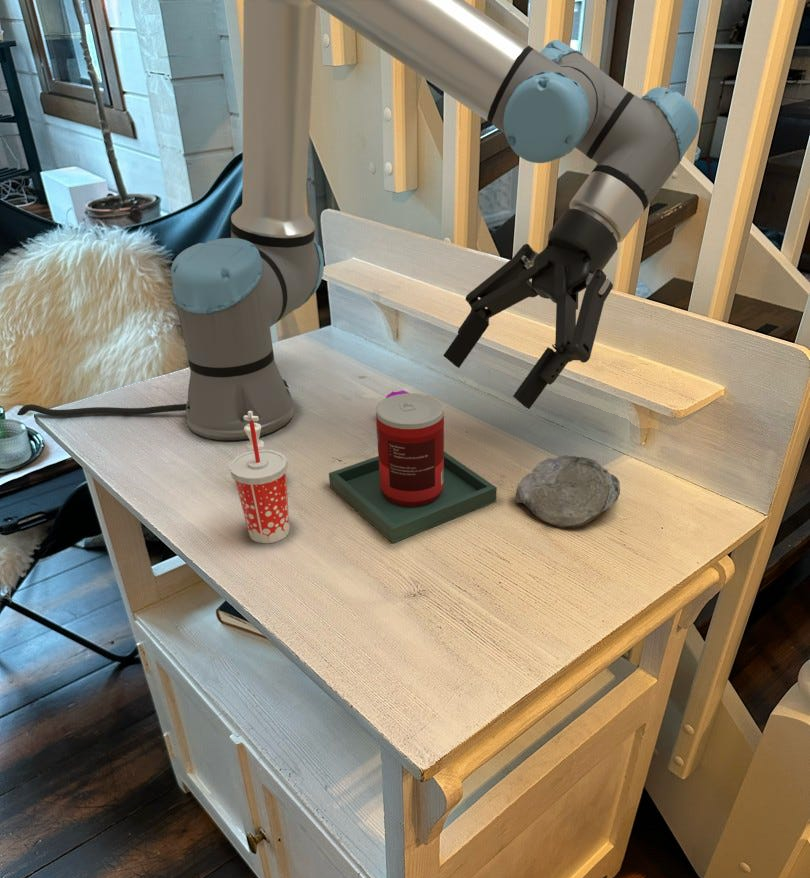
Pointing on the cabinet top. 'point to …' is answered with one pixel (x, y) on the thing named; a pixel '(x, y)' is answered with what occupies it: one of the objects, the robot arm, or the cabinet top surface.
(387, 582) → the cabinet top surface
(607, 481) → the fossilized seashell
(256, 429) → the chess piece
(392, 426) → the canned food
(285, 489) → the beverage cup
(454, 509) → the tray
